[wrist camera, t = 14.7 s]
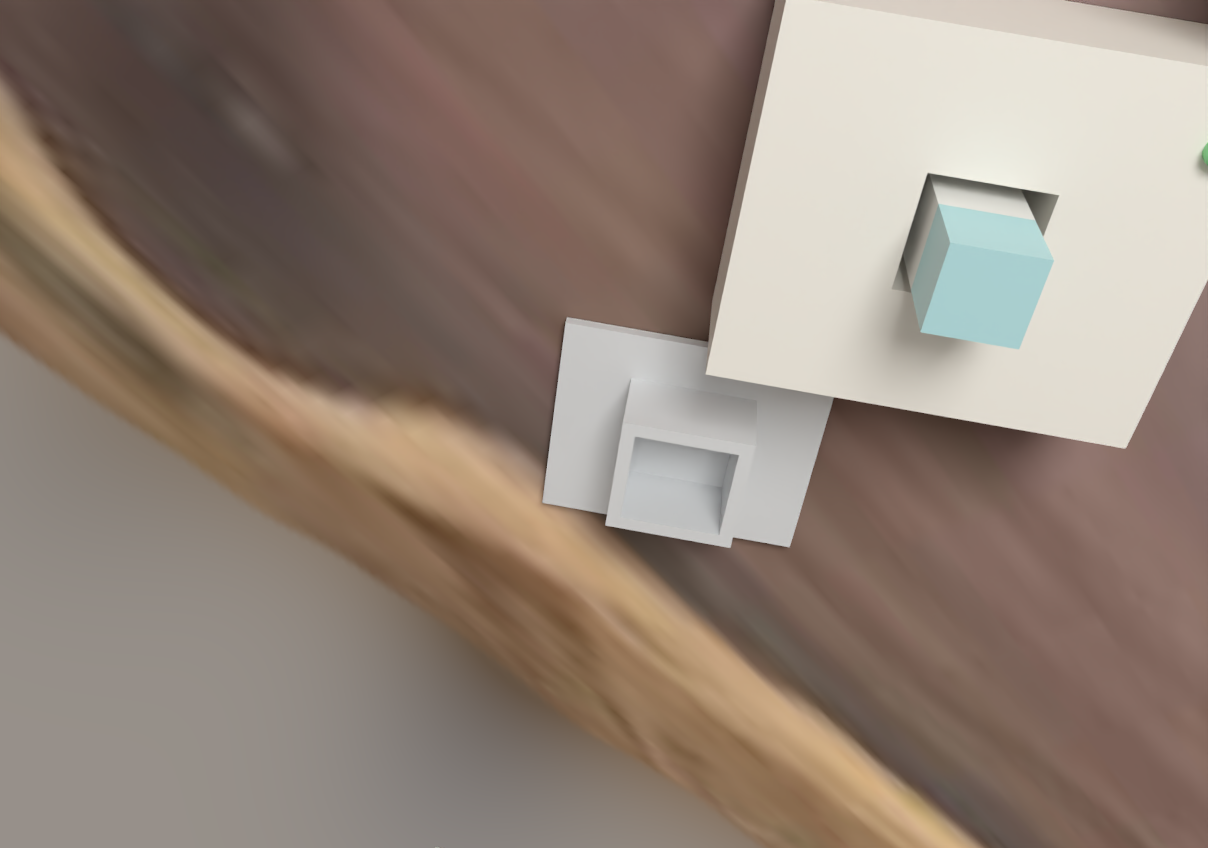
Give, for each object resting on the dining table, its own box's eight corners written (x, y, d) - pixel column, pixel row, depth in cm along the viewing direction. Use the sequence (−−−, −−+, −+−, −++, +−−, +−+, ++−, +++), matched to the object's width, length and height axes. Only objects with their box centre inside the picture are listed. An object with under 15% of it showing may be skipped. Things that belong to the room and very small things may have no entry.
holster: (543, 496, 55) (529, 549, 52) (567, 317, 50) (552, 364, 46) (789, 540, 55) (790, 597, 52) (841, 365, 49) (845, 416, 46)
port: (712, 300, 48) (704, 379, 43) (785, -47, 40) (787, -1, 35) (1089, 366, 48) (1128, 454, 43) (1237, 29, 40) (1308, 86, 35)
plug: (895, 218, 44) (920, 332, 37) (919, 139, 42) (950, 242, 35) (977, 232, 44) (1019, 349, 37) (1004, 154, 42) (1054, 260, 35)
